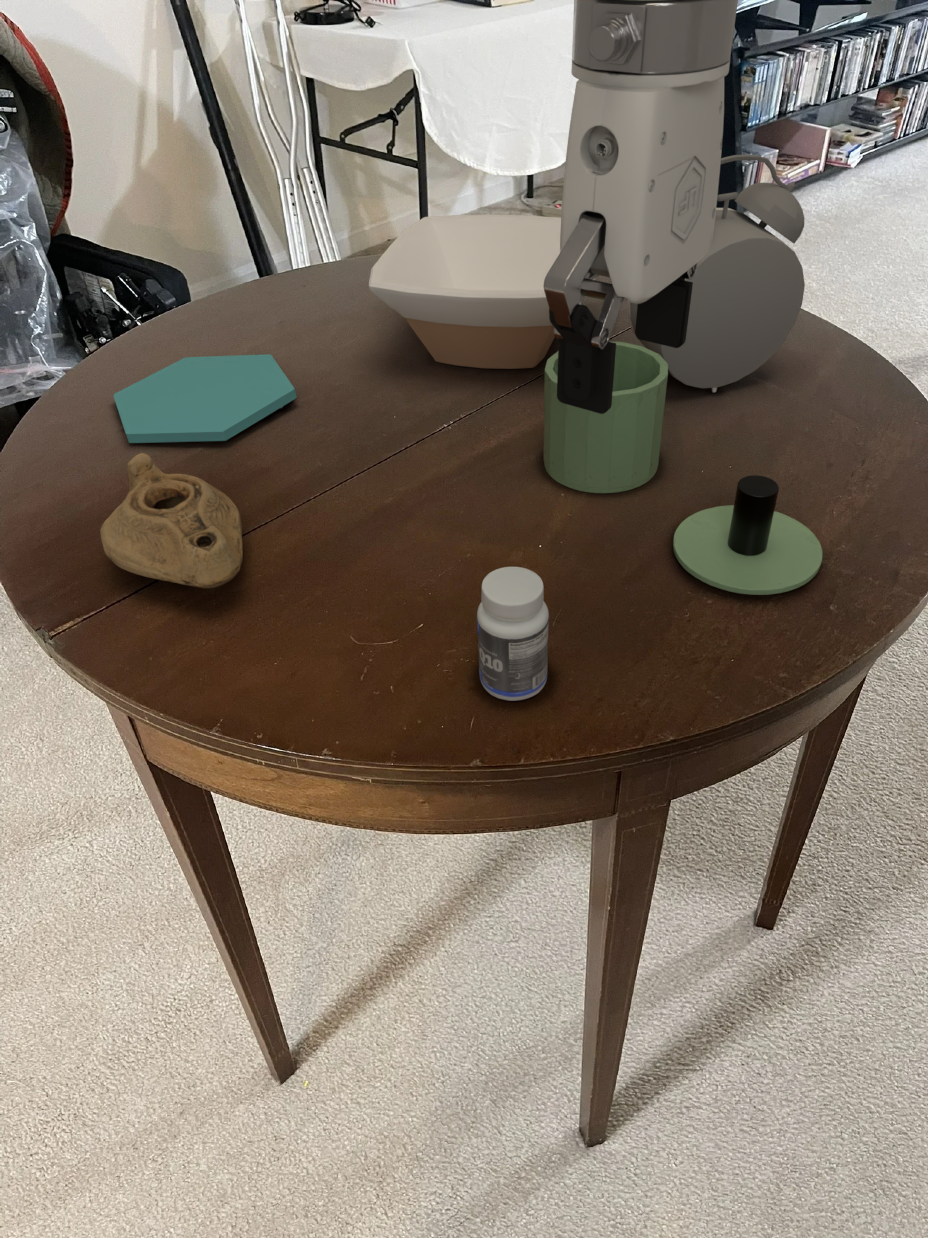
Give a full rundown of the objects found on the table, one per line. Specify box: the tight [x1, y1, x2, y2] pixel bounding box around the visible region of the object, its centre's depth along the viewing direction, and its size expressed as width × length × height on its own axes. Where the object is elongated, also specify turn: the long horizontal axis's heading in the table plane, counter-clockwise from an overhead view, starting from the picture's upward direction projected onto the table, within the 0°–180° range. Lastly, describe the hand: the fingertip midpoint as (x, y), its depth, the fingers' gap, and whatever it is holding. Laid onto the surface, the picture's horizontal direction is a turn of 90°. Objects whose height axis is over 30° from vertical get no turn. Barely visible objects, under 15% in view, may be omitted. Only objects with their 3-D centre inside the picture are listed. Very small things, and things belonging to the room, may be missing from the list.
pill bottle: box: [476, 566, 550, 702], centre depth 62 cm, size 5×5×8 cm
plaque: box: [112, 353, 298, 444], centre depth 98 cm, size 18×2×20 cm
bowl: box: [368, 214, 597, 370], centre depth 103 cm, size 24×25×11 cm
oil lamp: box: [99, 452, 244, 589], centre depth 74 cm, size 11×15×8 cm
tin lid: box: [672, 474, 824, 596], centre depth 72 cm, size 11×11×7 cm
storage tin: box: [542, 341, 669, 494], centre depth 83 cm, size 10×10×10 cm
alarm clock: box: [627, 154, 806, 393], centre depth 90 cm, size 16×9×22 cm, turn 108°
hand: (623, 372), depth 55 cm, fingers open, 9 cm apart
